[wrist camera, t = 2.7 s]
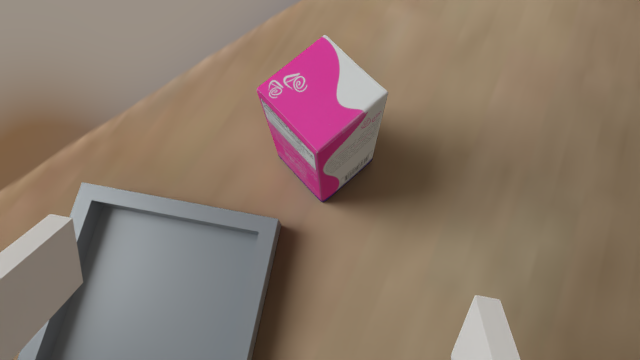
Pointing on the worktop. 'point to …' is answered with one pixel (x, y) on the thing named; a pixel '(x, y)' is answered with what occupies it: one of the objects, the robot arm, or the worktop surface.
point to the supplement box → (323, 116)
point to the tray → (160, 281)
